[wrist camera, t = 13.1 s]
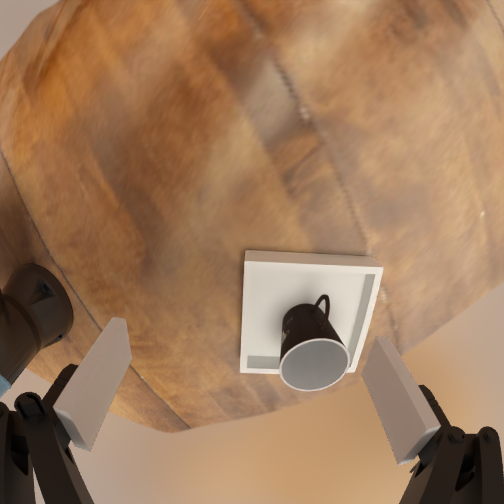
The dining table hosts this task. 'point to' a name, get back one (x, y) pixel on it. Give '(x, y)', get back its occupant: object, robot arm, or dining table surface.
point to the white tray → (304, 300)
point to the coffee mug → (311, 348)
